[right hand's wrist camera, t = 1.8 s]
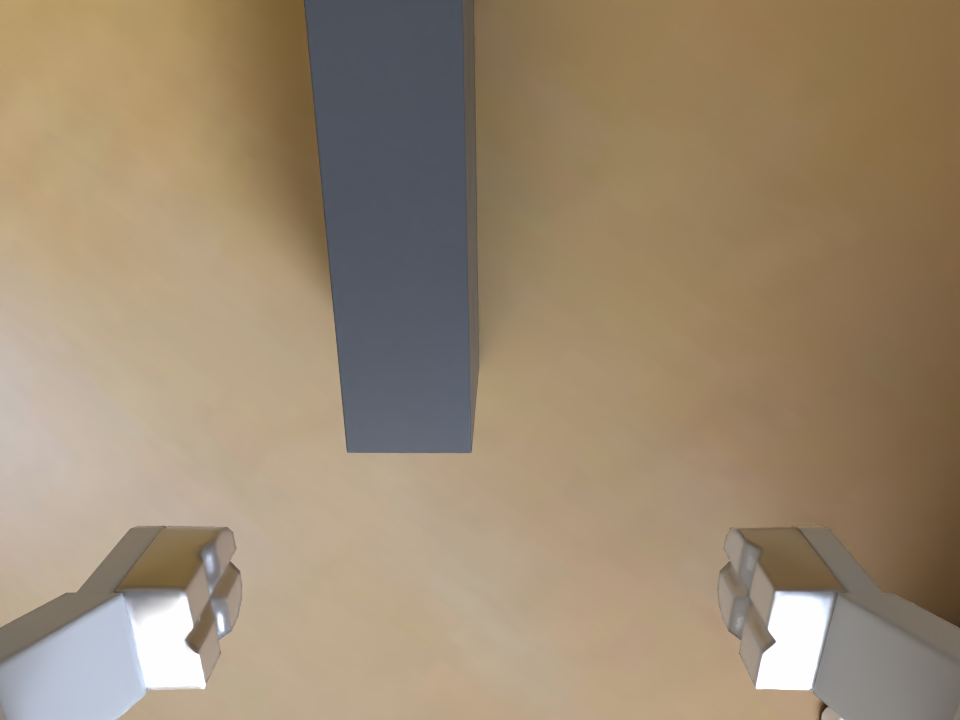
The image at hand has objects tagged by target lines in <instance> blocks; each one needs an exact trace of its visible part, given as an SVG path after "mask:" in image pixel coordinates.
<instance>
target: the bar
mask: <svg viewBox="0 0 960 720" xmlns="http://www.w3.org/2000/svg"><path fill="white" fill-rule="evenodd" d="M304 5H305V16H306V26H307V37H308V47H309V58H310V68H311V79H312V89H313V100H314V110H315V121H316V131H317V142H318V152H319V163H320V173H321V184H322V194H323V205H324V215H325V226H326V236H327V247H328V257H329V268H330V278H331V289H332V299H333V310H334V321H335V331H336V342H337V352H338V363H339V373H340V384H341V394H342V405H343V415H344V426H345V436H346V447H347V452H348V453H471V451H472V441H473V430H474V418H475V407H476V396H477V384H478V373H479V333H478V263H477V193H476V122H475V52H474V0H304Z"/></svg>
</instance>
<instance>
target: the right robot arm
mask: <svg viewBox="0 0 960 720" xmlns="http://www.w3.org/2000/svg"><path fill="white" fill-rule="evenodd" d="M235 550H236V545H235V540H234V535H233V532H232V531H231V530H230V529H229V528H228V527H193V526H168V527H166V526H137V527H134V528H131V529H130V530H129V531H128V532H127V533H126V534H125V536H124V537H123V538H122V539H121V540H120V541H119V543H118V544H117V545H116V546H115V547H114V549H113V550H112V551H111V552H110V553H109V555H108V556H107V557H106V558H105V559H104V560H103V562H102V563H101V564H100V565H99V566H98V568H97V569H96V570H95V571H94V572H93V574H92V575H91V576H90V577H89V578H88V580H87V581H86V582H85V583H84V584H83V585H82V587H81V588H80V589H79V590H78V591H77V593H65V594H63V595H61V596H59V597H58V598H56V599H54V600H52V601H50V602H48V603H46V604H44V605H42V606H40V607H39V608H37V609H35V610H33V611H31V612H29V613H27V614H25V615H23V616H22V617H20V618H18V619H16V620H14V621H12V622H10V623H8V624H6V625H4V626H3V627H1V628H0V720H117V719H118V718H119V717H120V716H121V715H122V714H124V713H125V712H126V711H127V710H128V709H129V708H131V707H132V706H133V705H134V704H135V703H136V702H137V701H139V700H140V699H141V698H142V697H143V696H144V695H146V694H147V690H165V689H199V688H204V687H205V685H206V683H207V681H208V679H209V677H210V675H211V673H212V671H213V669H214V667H215V665H216V663H217V661H218V658H219V656H220V654H221V650H220V645H219V640H220V639H221V638H223V637H224V636H225V635H227V634H228V633H229V632H231V631H232V629H233V627H234V624H235V622H236V620H237V618H238V614H239V610H240V605H241V600H242V580H241V574H240V571H239V570H238V569H237V568H236V567H235V566H234V565H233V564H232V563H231V562H230V560H231V558H232V556H233V554H234V552H235ZM724 550H725V552H726V554H727V556H728V558H729V560H730V562H729V563H728V564H727V565H726V566H725V567H724V568H723V569H722V570H721V571H720V574H719V582H718V598H719V607H720V611H721V614H722V618H723V620H724V622H725V625H726V627H727V629H728V631H729V632H731V633H732V634H733V635H735V636H736V637H737V638H739V639H740V640H741V645H740V650H739V654H740V656H741V658H742V661H743V663H744V665H745V667H746V669H747V671H748V673H749V675H750V677H751V679H752V681H753V683H754V685H755V687H756V688H759V689H794V690H813V693H814V694H815V695H816V696H817V697H818V698H819V699H821V700H822V701H823V702H824V703H825V704H826V705H827V706H828V707H827V708H826V709H825V710H824V711H823V713H822V716H821V720H960V628H959V627H957V626H955V625H953V624H952V623H950V622H948V621H946V620H944V619H942V618H940V617H938V616H936V615H935V614H933V613H931V612H929V611H927V610H925V609H923V608H921V607H919V606H918V605H916V604H914V603H912V602H910V601H908V600H906V599H904V598H902V597H901V596H899V595H897V594H895V593H883V591H882V590H881V589H880V588H879V587H878V586H877V584H876V583H875V582H874V581H873V580H872V578H871V577H870V576H869V575H868V574H867V572H866V571H865V570H864V569H863V568H862V567H861V565H860V564H859V563H858V562H857V561H856V559H855V558H854V557H853V556H852V555H851V553H850V552H849V551H848V550H847V549H846V548H845V546H844V545H843V544H842V543H841V542H840V540H839V539H838V538H837V537H836V536H835V534H834V533H833V532H832V531H831V530H830V529H829V528H827V527H825V526H823V525H822V526H792V527H774V528H730V529H729V531H728V533H727V535H726V538H725V544H724Z"/></svg>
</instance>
